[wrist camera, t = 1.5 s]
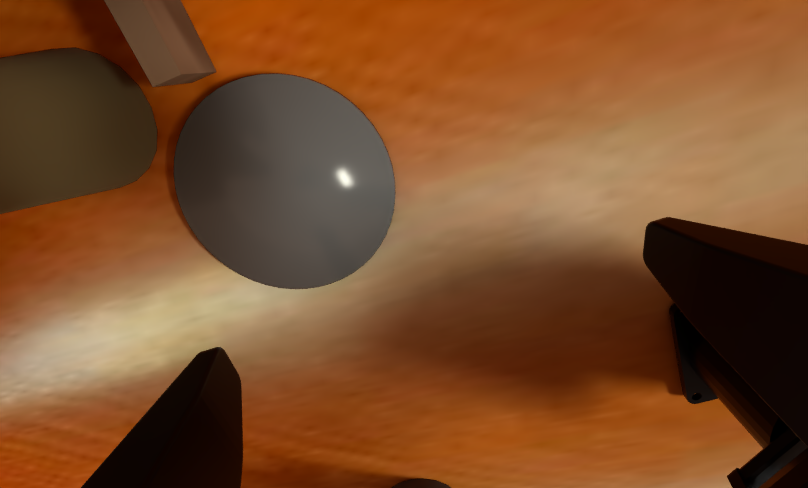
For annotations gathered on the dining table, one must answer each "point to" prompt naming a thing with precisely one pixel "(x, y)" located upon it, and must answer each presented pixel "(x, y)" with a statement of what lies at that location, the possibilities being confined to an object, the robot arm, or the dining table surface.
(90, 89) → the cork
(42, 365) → the dining table surface
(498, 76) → the dining table surface
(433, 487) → the coffee cup
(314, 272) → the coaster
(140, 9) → the rack
